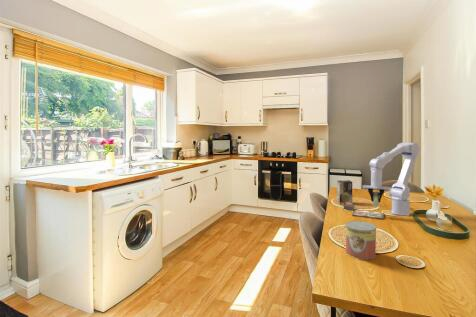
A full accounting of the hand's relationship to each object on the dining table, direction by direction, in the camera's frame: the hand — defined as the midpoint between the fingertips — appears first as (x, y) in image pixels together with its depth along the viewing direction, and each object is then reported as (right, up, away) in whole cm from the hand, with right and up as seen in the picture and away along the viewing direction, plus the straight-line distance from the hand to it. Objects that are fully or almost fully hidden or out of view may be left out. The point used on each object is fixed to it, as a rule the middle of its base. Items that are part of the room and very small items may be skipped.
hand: (375, 201), depth 157 cm
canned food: (-31, -14, -48) cm, 59 cm away
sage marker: (0, -2, 0) cm, 2 cm away
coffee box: (-5, -7, +33) cm, 34 cm away
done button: (-9, -6, +17) cm, 20 cm away
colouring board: (-3, -9, +4) cm, 10 cm away
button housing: (-9, -8, +17) cm, 21 cm away
